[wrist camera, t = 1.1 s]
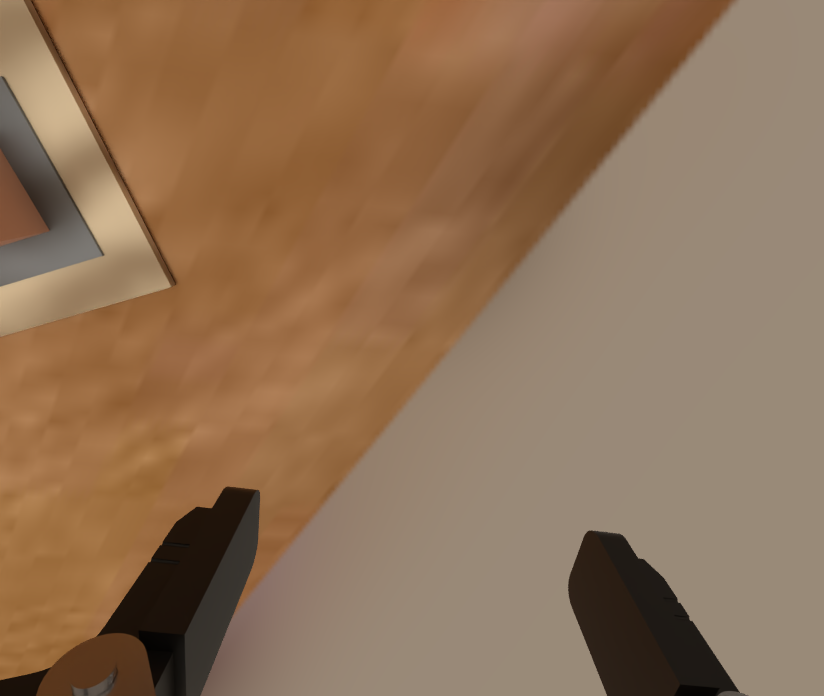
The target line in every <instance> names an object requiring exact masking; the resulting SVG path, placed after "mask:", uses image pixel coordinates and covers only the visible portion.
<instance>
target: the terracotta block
mask: <svg viewBox="0 0 824 696" xmlns="http://www.w3.org/2000/svg"><path fill="white" fill-rule="evenodd" d="M48 231H50V230H49V229H48V227H47V225H46V224H45V222H44V220H43V219H42V217H41V215H40V214H39V212H38V210H37V209H36V207H35V205H34V204H33V202H32V200H31V199H30V197H29V195H28V194H27V192H26V190H25V189H24V187H23V185H22V184H21V182H20V180H19V179H18V177H17V175H16V174H15V172H14V170H13V169H12V167H11V165H10V164H9V162H8V160H7V159H6V157H5V155H4V154H3V152H2V150H1V149H0V246H3V245H6V244H10V243H13V242H16V241H19V240H23V239H26V238H29V237H32V236H35V235H39V234H42V233H45V232H48Z"/></svg>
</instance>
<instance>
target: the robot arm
mask: <svg viewBox="0 0 824 696" xmlns="http://www.w3.org/2000/svg"><path fill="white" fill-rule="evenodd" d="M259 508H260V492H259V490H253V489H244V488H236V487H225V488H224V490H223V491H222V493H221V494H220V496H219V498H218V499H217V501H216V503H215V504H214V506H213V507H212V508H203V507H196V508H195V509H193V510H192V511H191V512H189V513H188V514H186V515H185V516H184V517H182V518H181V519H180V520H178V521H177V522H176V523H175V525H174V526H173V528H172V529H171V530H170V532H169V533H168V535H167V536H166V538H165V539H164V541H163V544H162V546H161V545H160V546H159V548H158V549H157V551H156V552H155V554H154V555H153V557H152V559H151V562H148V564H147V565H146V567H145V568H144V570H143V571H142V573H141V574H140V576H139V577H138V578H137V580H136V581H135V583H134V584H133V586H132V587H131V589H130V590H129V592H128V593H127V594H126V596H125V597H124V599H123V600H122V602H121V603H120V605H119V606H118V608H117V609H116V611H115V612H114V613H113V615H112V616H111V618H110V619H109V621H108V622H107V624H106V625H105V627H104V628H103V629H102V630H101V632H100V633H99V634H98V635H97V636H96V637H95V638H92V639H89V640H87V641H85V642H83V643H81V644H79V645H78V646H76V647H74V648H73V649H71V650H70V651H69V652H67V653H66V654H65V655H63V656H62V657H61V658H60V659H59V660H58V661H57V662H56V663H55V664H54V665H53V666H52V667H51V668H48V669H45V670H43V671H39V672H36V673H32V674H27V675H23V676H18V677H13V678H9V679H4V680H0V696H200V695H201V692H202V690H203V688H204V685H205V683H206V680H207V678H208V675H209V673H210V670H211V668H212V665H213V663H214V661H215V658H216V655H217V653H218V650H219V648H220V646H221V643H222V641H223V638H224V636H225V633H226V631H227V628H228V626H229V623H230V621H231V618H232V616H233V614H234V611H235V609H236V606H237V604H238V601H239V599H240V596H241V594H242V591H243V589H244V586H245V584H246V581H247V579H248V576H249V574H250V571H251V569H252V566H253V563H254V559H255V555H256V550H257V544H258V528H259ZM568 588H569V589H568V591H569V598H570V603H571V606H572V609H573V611H574V614H575V616H576V619H577V621H578V624H579V626H580V629H581V631H582V633H583V636H584V639H585V641H586V644H587V646H588V648H589V651H590V654H591V656H592V658H593V661H594V664H595V666H596V668H597V671H598V674H599V676H600V679H601V681H602V684H603V686H604V689H605V691H606V694H607V696H747V695H745V694H743V693H740V692H739V691H738V689H737V688H736V686H735V685H734V683H733V682H732V680H731V679H730V677H729V676H728V674H727V673H726V671H725V670H724V668H723V667H722V665H721V664H720V662H719V661H718V659H717V658H716V656H715V654H714V653H713V651H712V650H711V649H710V647H709V645H708V644H707V642H706V641H705V640H704V638H703V636H702V635H701V634H700V632H699V630H698V629H697V627H696V626H695V624H694V623H693V622H692V621H690V620H689V615H688V614H687V612H686V611H685V609H684V608H683V606H682V605H681V603H678V601H677V597H676V596H675V594H674V593H673V591H672V590H671V588H670V587H669V585H668V584H667V582H666V581H665V579H664V578H663V577H662V576H661V575H660V574H659V573H658V572H657V571H656V570H655V569H653V568H652V567H651V566H650V565H649V564H648V563H647V562H646V561H645V560H644V559H638V557H637V556H636V554H635V553H634V551H633V550H632V548H631V546H630V545H629V543H628V542H627V540H626V539H625V538H624V536H623V535H621V534H616V533H608V532H599V531H588V532H587V533H586V534H585V536H584V538H583V541H582V544H581V546H580V550H579V552H578V555H577V558H576V560H575V563H574V566H573V568H572V571H571V574H570V577H569V584H568Z"/></svg>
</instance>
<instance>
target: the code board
mask: <svg viewBox="0 0 824 696" xmlns="http://www.w3.org/2000/svg"><path fill="white" fill-rule="evenodd" d="M0 149H1V150H2V152H3V154H4V155H5V157H6V159H7V160H8V162H9V164H10V165H11V167H12V169H13V170H14V172H15V174H16V175H17V177H18V179H19V180H20V182H21V184H22V185H23V187H24V189H25V190H26V192H27V194H28V195H29V197H30V199H31V200H32V202H33V204H34V205H35V207H36V209H37V210H38V212H39V214H40V215H41V217H42V219H43V220H44V222H45V224H46V225H47V227H48V229H49V230H50V231H48V232H45V233H42V234H39V235H35V236H32V237H29V238H26V239H23V240H19V241H16V242H13V243H10V244H6V245H3V246H0V337H2V336H5V335H8V334H12V333H15V332H19V331H22V330H26V329H29V328H32V327H36V326H39V325H43V324H46V323H50V322H53V321H56V320H60V319H63V318H67V317H70V316H74V315H77V314H81V313H84V312H87V311H91V310H94V309H98V308H101V307H105V306H108V305H111V304H115V303H118V302H122V301H125V300H129V299H132V298H135V297H139V296H142V295H146V294H149V293H153V292H156V291H159V290H163V289H166V288H170V287H172V286H174V285H176V284H175V282H174V280H173V279H172V277H171V275H170V273H169V271H168V269H167V267H166V265H165V263H164V261H163V259H162V257H161V255H160V253H159V251H158V249H157V247H156V245H155V243H154V241H153V239H152V237H151V235H150V233H149V231H148V230H147V228H146V226H145V224H144V222H143V220H142V218H141V216H140V214H139V212H138V210H137V208H136V206H135V204H134V202H133V200H132V198H131V196H130V194H129V192H128V190H127V188H126V186H125V184H124V182H123V181H122V179H121V177H120V175H119V173H118V171H117V169H116V167H115V165H114V163H113V161H112V159H111V157H110V155H109V153H108V151H107V149H106V147H105V145H104V143H103V141H102V139H101V137H100V135H99V134H98V132H97V130H96V128H95V126H94V124H93V122H92V120H91V118H90V116H89V114H88V112H87V110H86V108H85V106H84V104H83V102H82V100H81V98H80V96H79V94H78V92H77V90H76V88H75V86H74V85H73V83H72V81H71V79H70V77H69V75H68V73H67V71H66V69H65V67H64V65H63V63H62V61H61V59H60V57H59V55H58V53H57V51H56V49H55V47H54V45H53V43H52V41H51V39H50V38H49V36H48V34H47V32H46V30H45V28H44V26H43V24H42V22H41V20H40V18H39V16H38V14H37V12H36V10H35V8H34V6H33V4H32V2H31V0H0Z"/></svg>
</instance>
